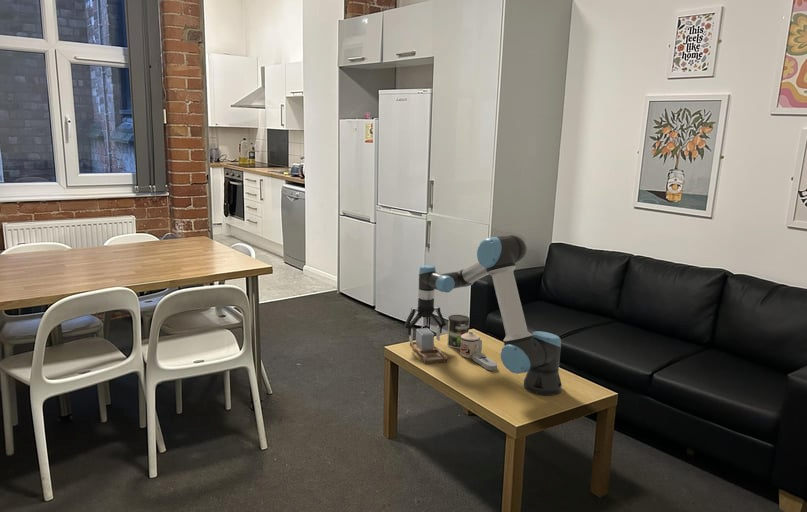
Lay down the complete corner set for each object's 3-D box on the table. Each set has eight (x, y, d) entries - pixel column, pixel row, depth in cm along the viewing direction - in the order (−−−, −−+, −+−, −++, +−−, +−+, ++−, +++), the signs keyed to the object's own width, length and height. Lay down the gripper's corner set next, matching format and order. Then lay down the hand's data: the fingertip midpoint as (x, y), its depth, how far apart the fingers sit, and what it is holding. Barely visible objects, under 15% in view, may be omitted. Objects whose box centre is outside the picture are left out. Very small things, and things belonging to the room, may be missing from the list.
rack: (447, 362, 255) (447, 358, 255) (425, 364, 252) (425, 360, 252) (430, 343, 278) (430, 340, 278) (409, 345, 275) (409, 342, 275)
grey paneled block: (433, 350, 267) (434, 333, 266) (421, 351, 265) (421, 334, 264) (427, 343, 276) (428, 327, 274) (415, 344, 274) (416, 328, 272)
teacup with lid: (455, 353, 266) (456, 330, 264) (470, 350, 271) (471, 327, 269) (472, 362, 256) (474, 337, 254) (487, 358, 262) (488, 334, 259)
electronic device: (491, 351, 244) (471, 339, 257) (489, 372, 246) (470, 359, 259) (501, 349, 246) (481, 337, 259) (499, 370, 249) (479, 357, 262)
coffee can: (471, 347, 275) (473, 320, 272) (452, 349, 271) (453, 321, 269) (462, 340, 284) (464, 313, 281) (443, 342, 281) (445, 315, 278)
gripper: (448, 294, 273) (446, 336, 277) (398, 296, 266) (397, 339, 270) (453, 298, 266) (451, 341, 270) (403, 301, 259) (401, 345, 263)
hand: (424, 340), depth 270 cm, fingers open, 13 cm apart
